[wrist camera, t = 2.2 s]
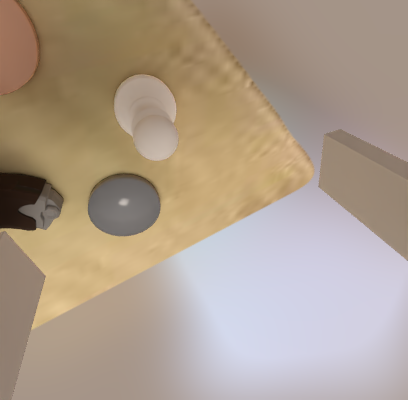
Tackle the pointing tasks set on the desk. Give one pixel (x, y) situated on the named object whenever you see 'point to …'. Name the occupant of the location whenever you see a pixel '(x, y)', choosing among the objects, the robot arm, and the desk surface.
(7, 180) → the handgun
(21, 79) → the pink disc
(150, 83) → the chess pawn
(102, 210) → the dish slate
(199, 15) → the desk surface
